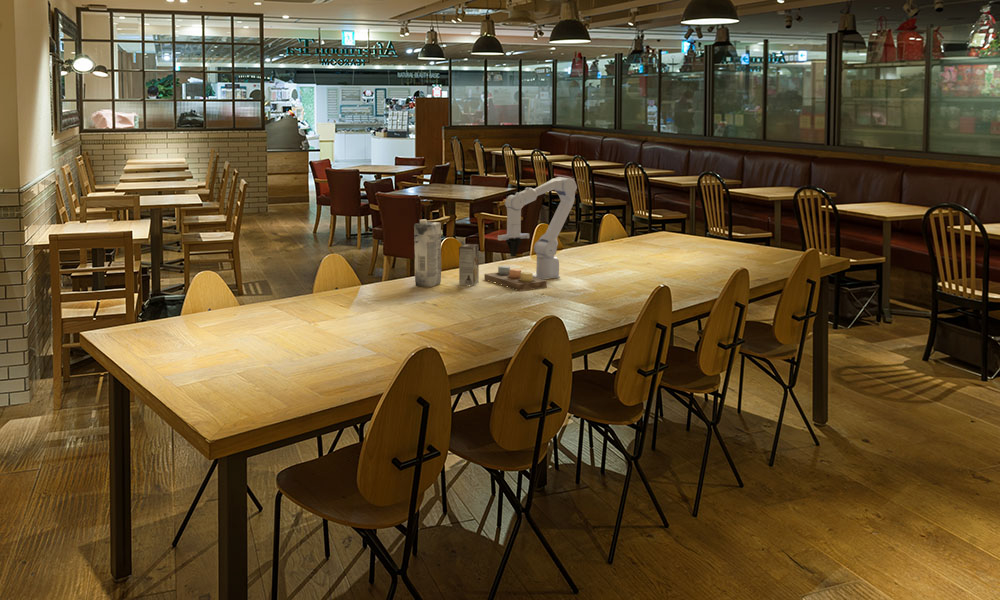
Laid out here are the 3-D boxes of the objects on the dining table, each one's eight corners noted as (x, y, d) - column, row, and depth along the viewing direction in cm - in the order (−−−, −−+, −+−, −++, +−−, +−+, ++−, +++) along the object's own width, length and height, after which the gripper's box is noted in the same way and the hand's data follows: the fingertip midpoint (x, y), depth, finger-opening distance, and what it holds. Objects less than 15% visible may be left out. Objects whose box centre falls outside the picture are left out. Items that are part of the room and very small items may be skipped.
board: (511, 276, 382) (512, 270, 382) (546, 286, 361) (546, 280, 360) (484, 279, 375) (484, 273, 374) (518, 290, 354) (518, 284, 353)
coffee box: (464, 281, 371) (464, 243, 368) (478, 281, 370) (479, 244, 367) (458, 285, 363) (458, 246, 359) (474, 286, 361) (474, 247, 358)
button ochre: (528, 279, 364) (528, 272, 363) (535, 281, 360) (535, 273, 359) (518, 281, 361) (518, 273, 360) (524, 283, 357) (525, 275, 356)
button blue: (505, 273, 378) (505, 265, 377) (512, 275, 374) (512, 267, 373) (495, 274, 375) (496, 266, 374) (502, 276, 371) (502, 268, 370)
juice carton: (443, 283, 366) (443, 218, 360) (431, 288, 356) (430, 221, 351) (425, 281, 369) (424, 217, 364) (412, 286, 360) (411, 220, 354)
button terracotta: (516, 276, 371) (516, 268, 370) (523, 278, 367) (523, 270, 366) (506, 277, 368) (506, 269, 367) (513, 279, 364) (513, 271, 363)
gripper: (523, 222, 375) (522, 253, 378) (494, 223, 368) (493, 256, 371) (532, 223, 369) (531, 255, 372) (502, 225, 362) (502, 258, 365)
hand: (513, 256), depth 371 cm, fingers closed
